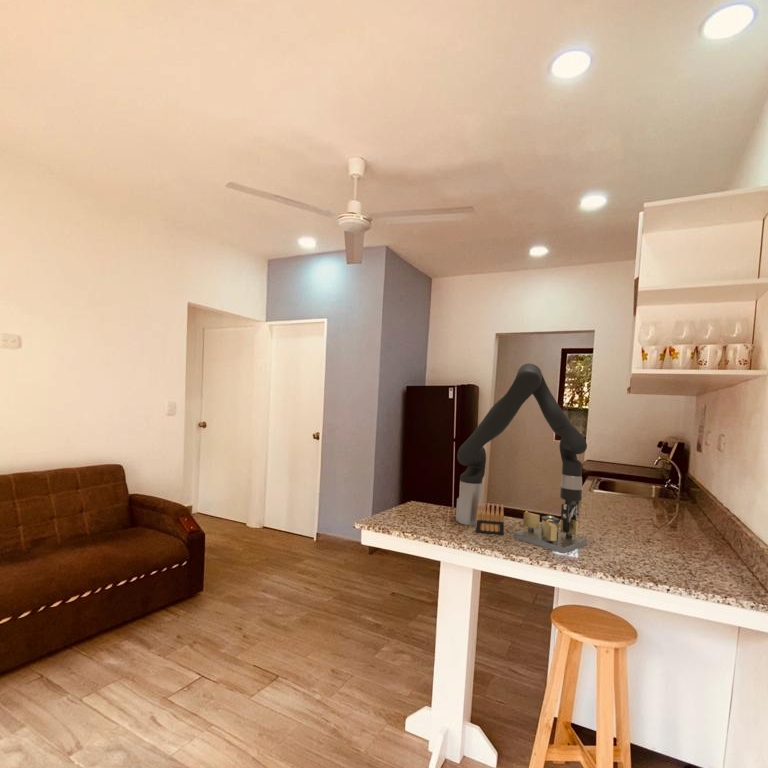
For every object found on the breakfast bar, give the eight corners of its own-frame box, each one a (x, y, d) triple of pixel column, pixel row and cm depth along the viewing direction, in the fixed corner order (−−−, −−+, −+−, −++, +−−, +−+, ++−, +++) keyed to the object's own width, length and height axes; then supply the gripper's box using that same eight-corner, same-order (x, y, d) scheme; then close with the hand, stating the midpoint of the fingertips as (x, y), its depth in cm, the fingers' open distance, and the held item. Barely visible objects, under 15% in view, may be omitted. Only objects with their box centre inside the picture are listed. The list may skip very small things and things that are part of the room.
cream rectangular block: (575, 538, 165) (576, 519, 165) (560, 535, 168) (561, 516, 168) (577, 537, 166) (578, 518, 167) (562, 534, 170) (563, 515, 170)
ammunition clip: (475, 533, 170) (477, 502, 171) (475, 531, 172) (476, 501, 173) (503, 535, 170) (505, 504, 170) (502, 534, 171) (504, 503, 172)
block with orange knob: (535, 532, 169) (536, 514, 170) (523, 528, 174) (523, 510, 174) (538, 531, 171) (539, 513, 171) (526, 528, 175) (526, 510, 175)
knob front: (550, 544, 155) (551, 523, 156) (543, 539, 161) (544, 519, 161) (556, 544, 156) (557, 524, 156) (548, 539, 161) (549, 519, 162)
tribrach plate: (513, 537, 167) (514, 513, 168) (537, 530, 179) (538, 508, 180) (563, 553, 152) (564, 526, 153) (586, 545, 164) (587, 520, 165)
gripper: (576, 490, 160) (574, 535, 159) (586, 486, 171) (585, 528, 170) (555, 487, 165) (553, 530, 164) (566, 483, 176) (565, 524, 175)
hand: (569, 529), depth 167 cm, fingers open, 8 cm apart
